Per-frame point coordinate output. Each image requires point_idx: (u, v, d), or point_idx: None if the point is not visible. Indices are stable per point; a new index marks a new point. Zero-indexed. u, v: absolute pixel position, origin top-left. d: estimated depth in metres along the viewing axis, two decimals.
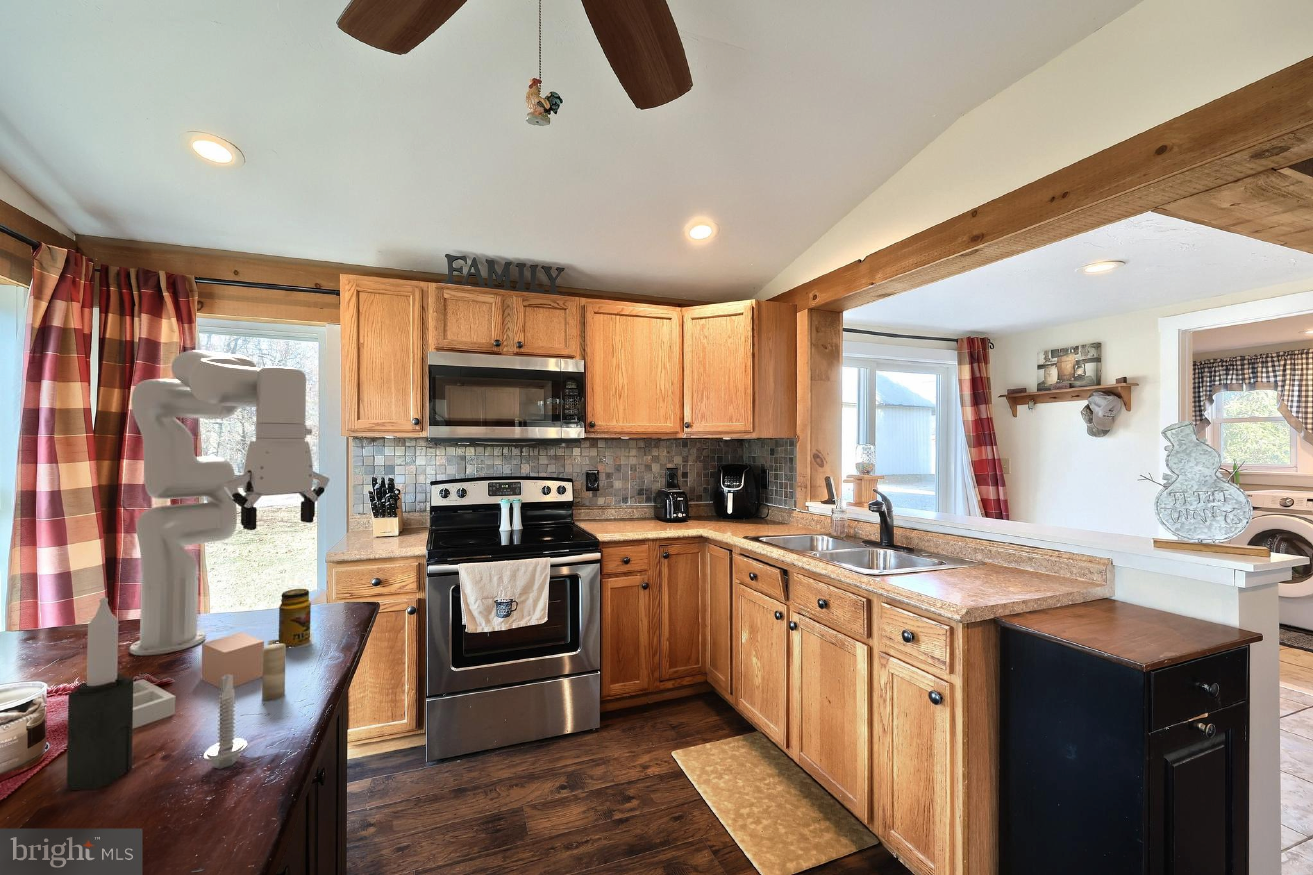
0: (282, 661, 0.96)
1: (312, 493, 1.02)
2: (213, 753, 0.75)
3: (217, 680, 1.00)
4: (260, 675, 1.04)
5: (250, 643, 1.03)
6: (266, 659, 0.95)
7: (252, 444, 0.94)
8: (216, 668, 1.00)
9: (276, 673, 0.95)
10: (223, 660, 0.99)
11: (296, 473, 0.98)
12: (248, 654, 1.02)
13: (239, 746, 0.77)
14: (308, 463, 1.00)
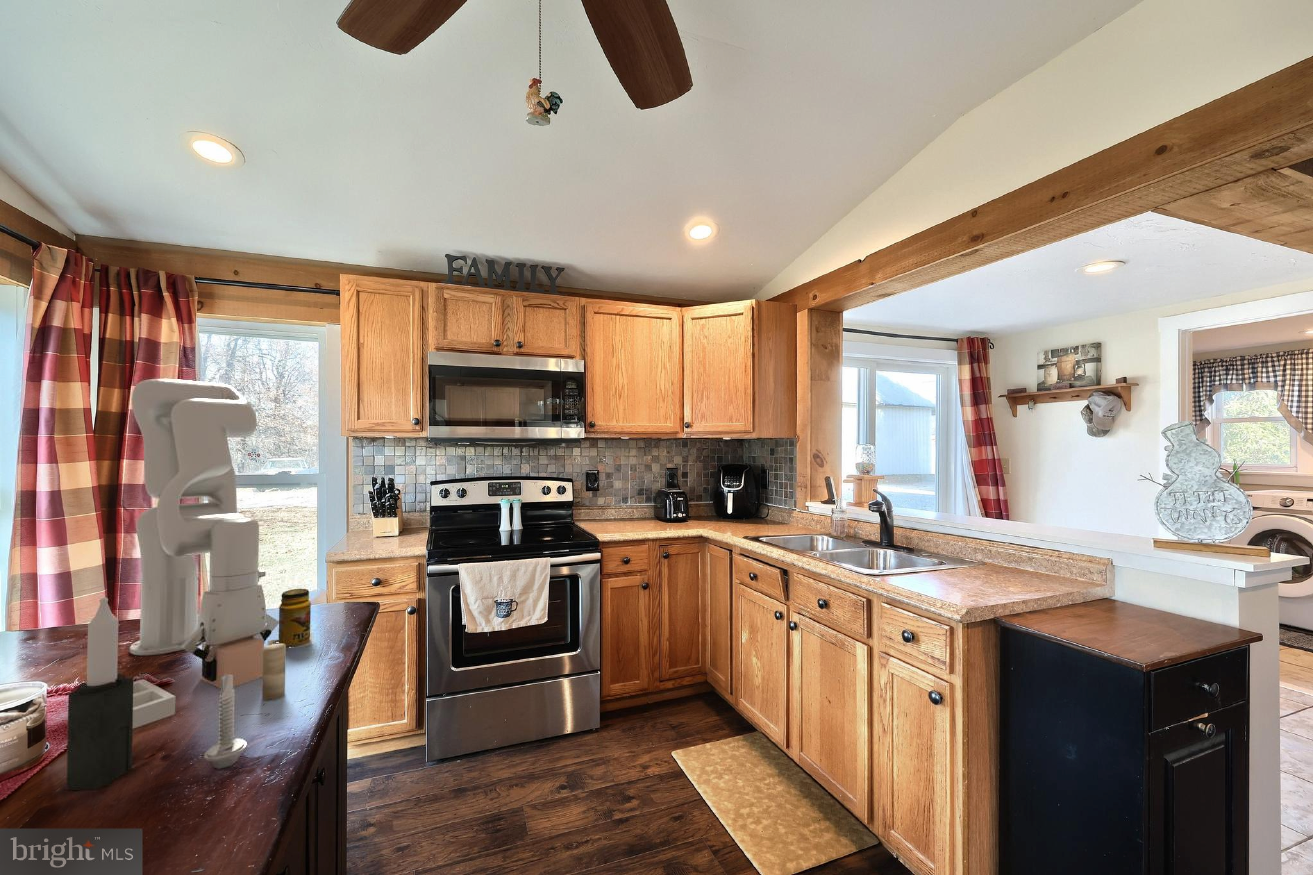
0: (282, 661, 0.96)
1: (258, 638, 1.06)
2: (213, 753, 0.75)
3: (217, 680, 1.00)
4: (260, 675, 1.04)
5: (250, 643, 1.03)
6: (266, 659, 0.95)
7: (205, 596, 1.00)
8: None
9: (276, 673, 0.95)
10: (223, 660, 0.99)
11: (248, 619, 1.04)
12: (248, 654, 1.02)
13: (239, 746, 0.77)
14: (261, 606, 1.06)
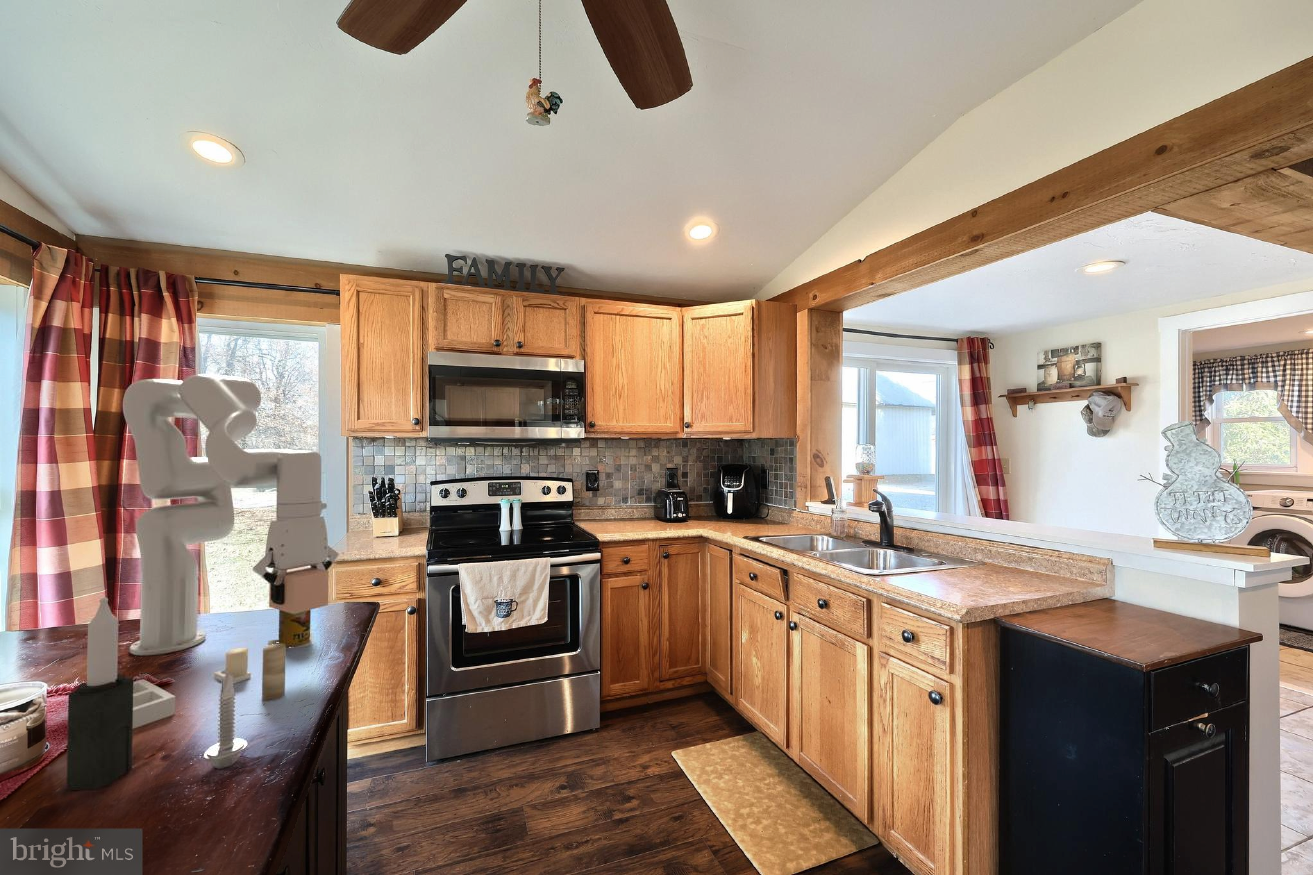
0: (282, 661, 0.96)
1: (321, 568, 1.10)
2: (213, 753, 0.75)
3: (286, 605, 1.03)
4: (325, 603, 1.07)
5: (316, 572, 1.06)
6: (266, 659, 0.95)
7: (273, 523, 1.04)
8: (285, 594, 1.04)
9: (276, 673, 0.95)
10: (293, 585, 1.02)
11: (313, 547, 1.08)
12: (315, 582, 1.06)
13: (239, 746, 0.77)
14: (323, 536, 1.10)
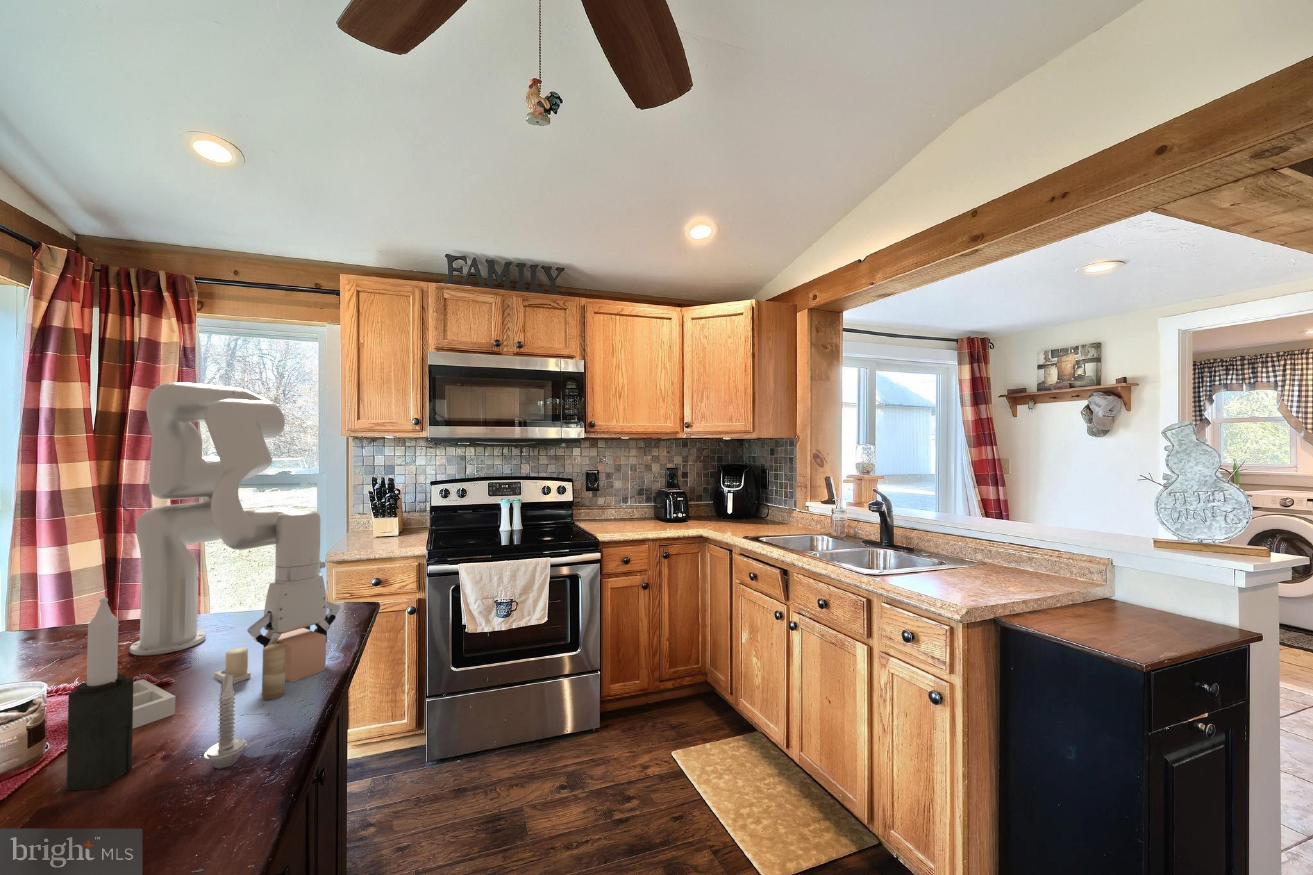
0: (282, 661, 0.96)
1: (324, 623, 1.11)
2: (213, 753, 0.75)
3: None
4: (323, 668, 1.07)
5: (314, 638, 1.06)
6: (266, 659, 0.95)
7: (272, 586, 1.03)
8: None
9: (276, 673, 0.95)
10: (290, 653, 1.02)
11: (311, 608, 1.08)
12: (312, 648, 1.05)
13: (239, 746, 0.77)
14: (322, 596, 1.10)
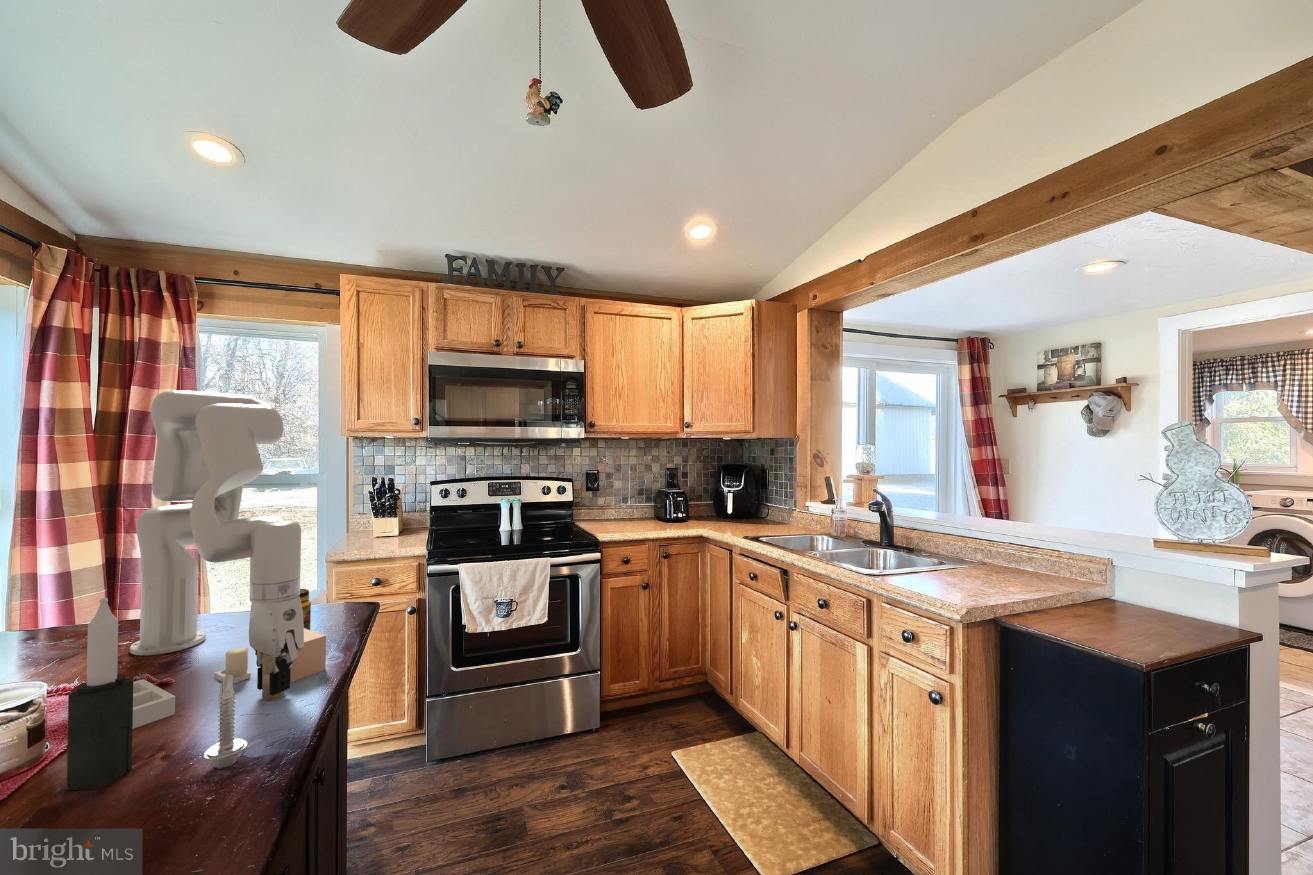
0: None
1: (272, 663, 0.94)
2: (213, 753, 0.75)
3: None
4: (323, 668, 1.07)
5: (314, 638, 1.06)
6: (266, 659, 0.95)
7: None
8: None
9: None
10: None
11: (264, 635, 0.94)
12: (312, 648, 1.05)
13: (239, 746, 0.77)
14: (272, 626, 0.93)
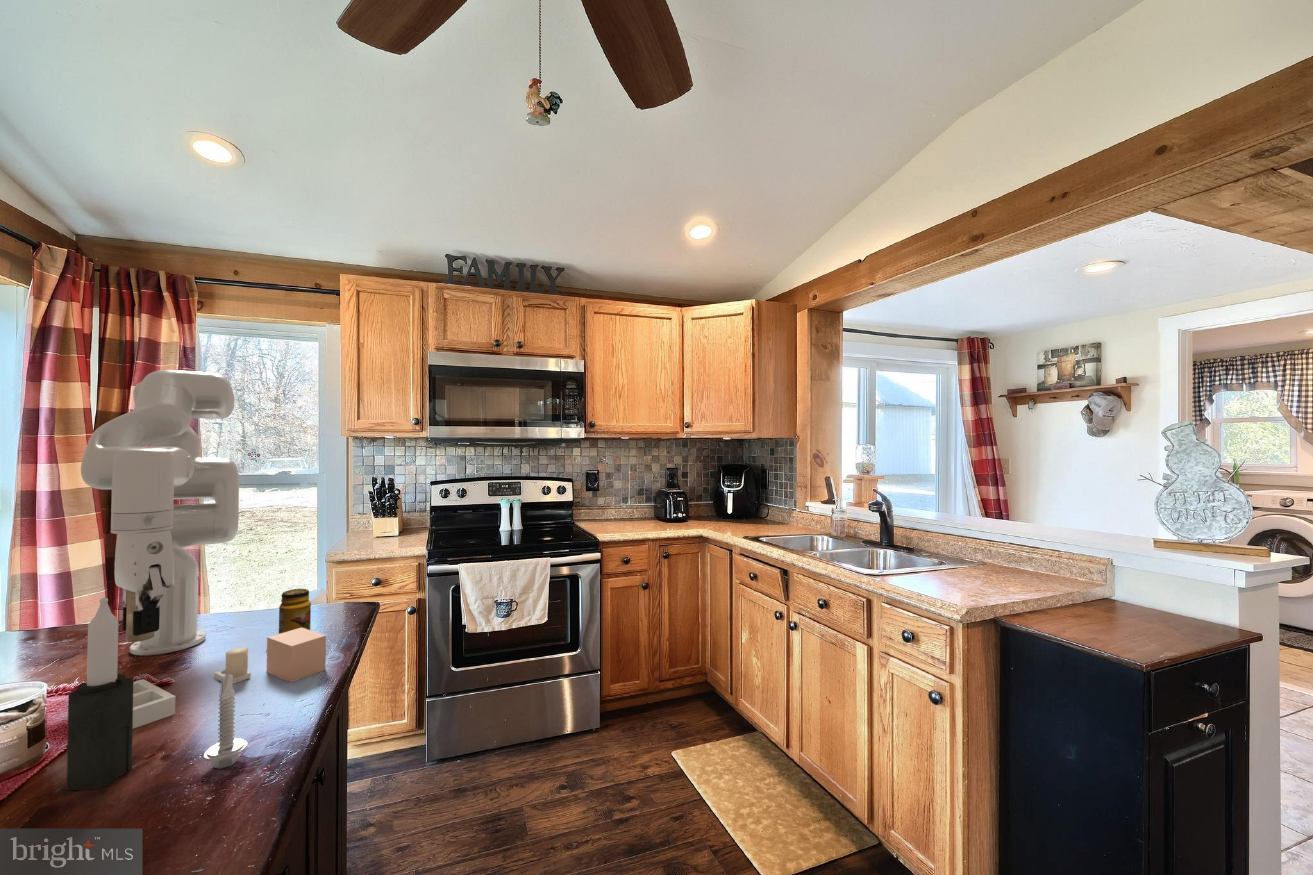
0: None
1: (136, 601, 0.86)
2: (213, 753, 0.75)
3: (283, 673, 1.03)
4: (323, 668, 1.07)
5: (314, 638, 1.06)
6: (130, 596, 0.87)
7: None
8: (282, 661, 1.03)
9: None
10: (290, 653, 1.02)
11: (126, 569, 0.86)
12: (312, 648, 1.05)
13: (239, 746, 0.77)
14: (133, 560, 0.85)
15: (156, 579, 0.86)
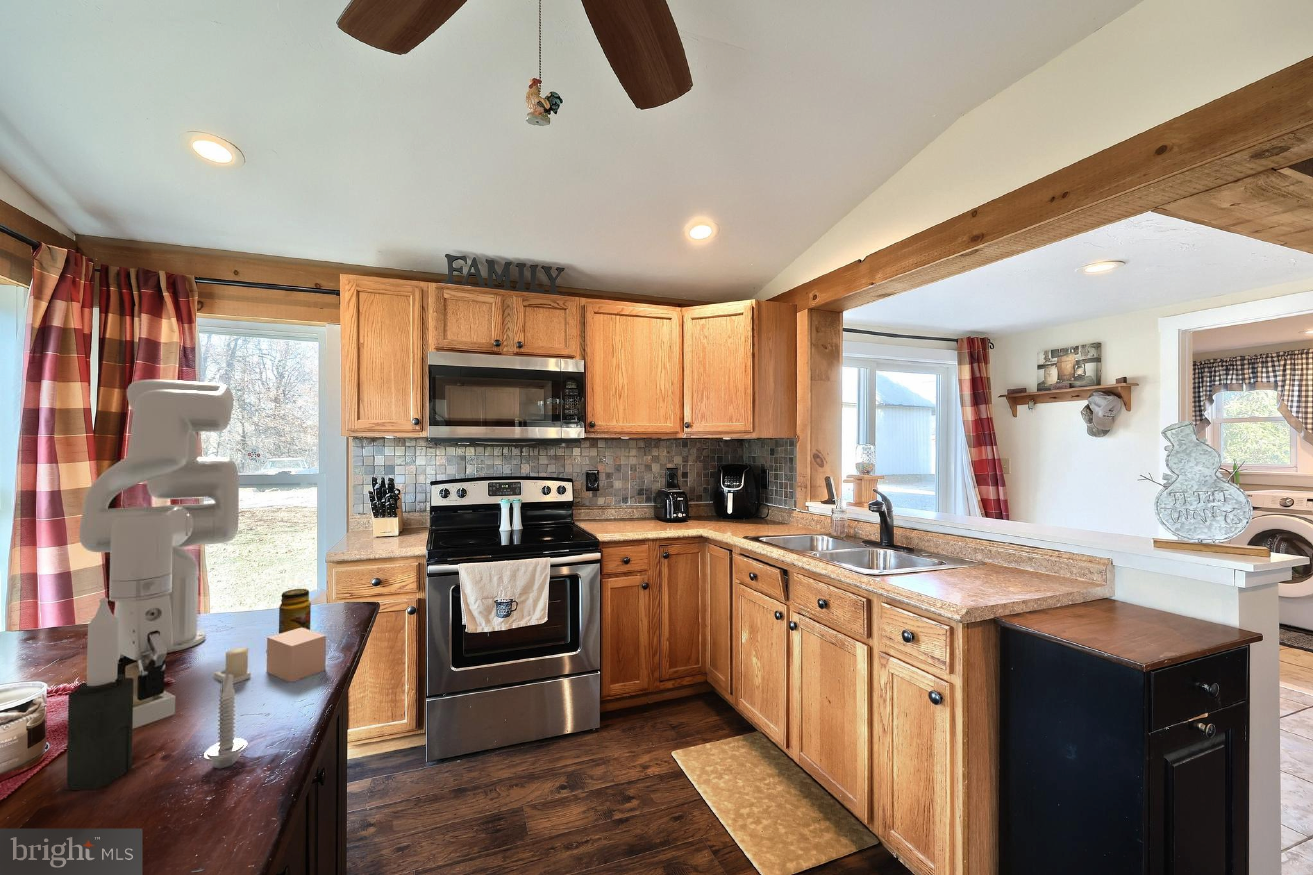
0: None
1: (140, 665, 0.85)
2: (213, 753, 0.75)
3: (283, 673, 1.03)
4: (323, 668, 1.07)
5: (314, 638, 1.06)
6: (128, 677, 0.87)
7: None
8: (282, 661, 1.03)
9: None
10: (290, 653, 1.02)
11: (125, 636, 0.86)
12: (312, 648, 1.05)
13: (239, 746, 0.77)
14: (132, 627, 0.85)
15: (157, 640, 0.86)
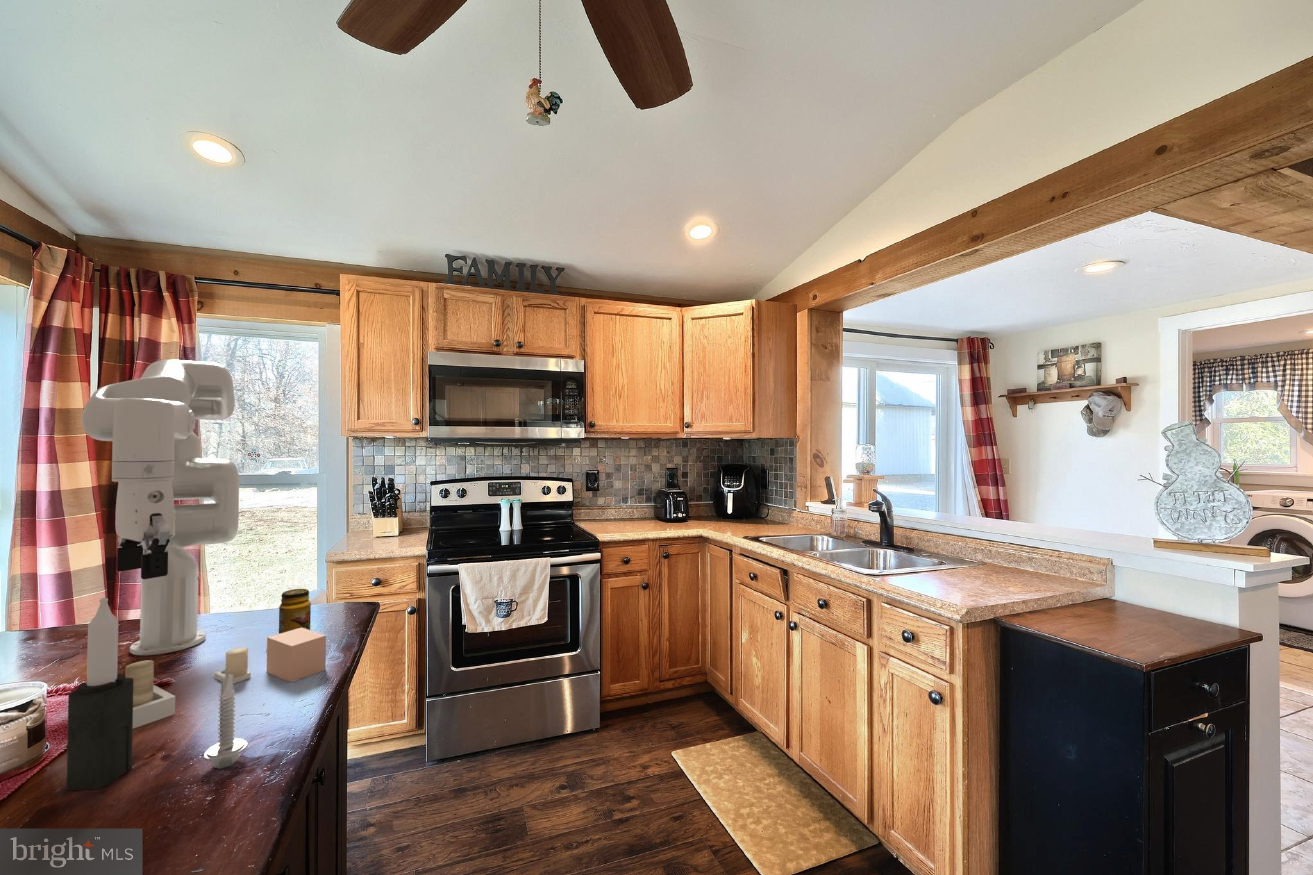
0: (147, 679, 0.88)
1: (144, 544, 0.85)
2: (213, 753, 0.75)
3: (283, 673, 1.03)
4: (323, 668, 1.07)
5: (314, 638, 1.06)
6: None
7: None
8: (282, 661, 1.03)
9: (140, 694, 0.87)
10: (290, 653, 1.02)
11: (127, 518, 0.86)
12: (312, 648, 1.05)
13: (239, 746, 0.77)
14: (134, 508, 0.85)
15: (159, 520, 0.86)
